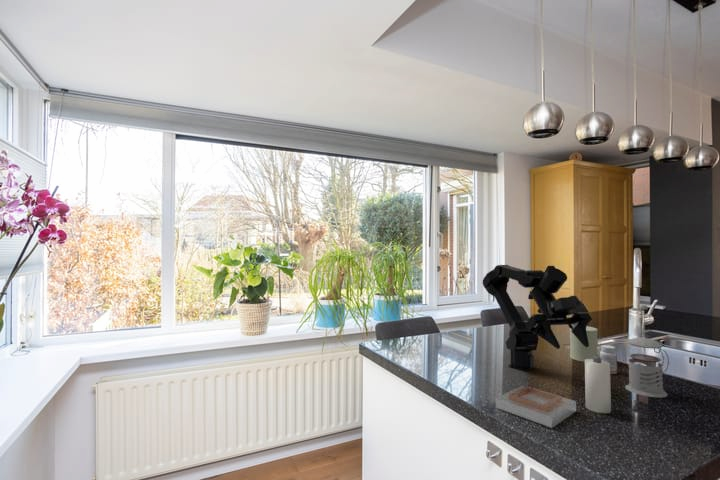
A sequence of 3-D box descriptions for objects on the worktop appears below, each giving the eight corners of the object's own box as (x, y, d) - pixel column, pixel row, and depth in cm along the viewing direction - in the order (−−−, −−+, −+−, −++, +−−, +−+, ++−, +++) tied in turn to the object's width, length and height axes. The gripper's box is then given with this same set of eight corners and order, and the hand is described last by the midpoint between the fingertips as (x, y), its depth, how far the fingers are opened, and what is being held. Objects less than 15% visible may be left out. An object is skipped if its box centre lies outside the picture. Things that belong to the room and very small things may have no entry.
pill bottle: (620, 374, 119) (619, 348, 120) (604, 373, 120) (603, 348, 120) (613, 369, 124) (612, 345, 124) (597, 369, 125) (597, 344, 125)
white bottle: (582, 407, 94) (581, 356, 95) (590, 402, 98) (589, 353, 98) (606, 415, 90) (605, 361, 90) (614, 409, 93) (612, 357, 94)
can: (594, 356, 140) (593, 325, 140) (601, 363, 131) (601, 330, 131) (567, 354, 143) (566, 323, 143) (572, 360, 134) (572, 328, 134)
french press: (616, 385, 110) (614, 302, 111) (652, 383, 111) (650, 302, 112) (644, 398, 100) (642, 307, 101) (683, 396, 101) (680, 306, 102)
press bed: (496, 407, 94) (495, 394, 95) (522, 394, 103) (522, 381, 103) (551, 428, 84) (551, 412, 84) (576, 411, 92) (575, 397, 93)
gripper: (531, 286, 107) (557, 333, 96) (586, 285, 110) (619, 330, 99) (515, 309, 114) (538, 354, 103) (568, 307, 118) (596, 351, 106)
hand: (573, 347), depth 103 cm, fingers open, 9 cm apart
